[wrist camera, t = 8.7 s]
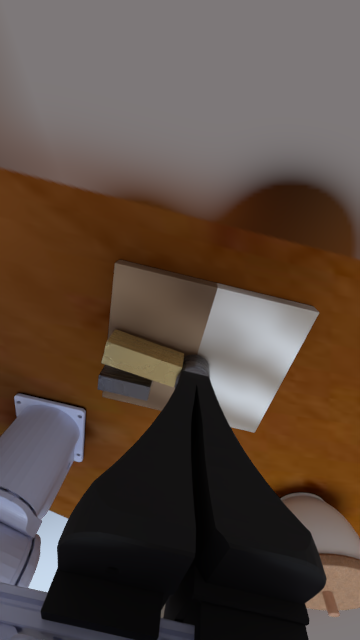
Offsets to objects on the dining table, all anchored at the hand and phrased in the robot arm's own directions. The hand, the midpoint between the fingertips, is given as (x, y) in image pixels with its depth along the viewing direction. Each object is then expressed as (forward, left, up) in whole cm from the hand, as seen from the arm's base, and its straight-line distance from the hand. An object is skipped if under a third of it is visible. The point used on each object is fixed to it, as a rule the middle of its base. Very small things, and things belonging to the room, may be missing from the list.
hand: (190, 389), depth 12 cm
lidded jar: (-24, -20, -10) cm, 33 cm away
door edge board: (-5, -1, -10) cm, 11 cm away
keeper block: (-7, +4, -9) cm, 12 cm away
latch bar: (-5, +2, -8) cm, 10 cm away
